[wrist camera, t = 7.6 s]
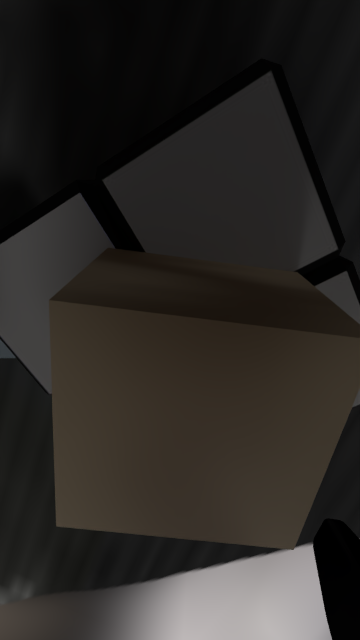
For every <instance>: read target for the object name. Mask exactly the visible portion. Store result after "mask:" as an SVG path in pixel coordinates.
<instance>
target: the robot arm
mask: <svg viewBox="0 0 360 640" xmlns="http://www.w3.org/2000/svg"><path fill="white" fill-rule="evenodd" d="M313 548H314V554H315V560H316V565H317V570H318V576H319V581H320V586H321V591H322V596H323V602H324V607H325V612H326V617H327V621H328V625H329V629H330V633H331V636H332V640H360V539H359V538H358V537H357V536H356V535H355V534H354V533H353V531H352V530H351V529H350V528H349V527H348V526H347V525H346V524H345V523H344V522H342V521H340V520H335V519H325V520H324V521H323V523H322V525H321V527H320V528H319V530H318V532H317V534H316V536H315V537H314V541H313Z"/></svg>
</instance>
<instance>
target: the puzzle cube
mask: <svg viewBox="0 0 360 640" xmlns="http://www.w3.org/2000/svg"><path fill="white" fill-rule="evenodd" d="M344 243H345V239H344V236H343V234H342V231H341V228H340V225H339V223H338V220H337V217H336V214H335V212H334V209H333V206H332V204H331V201H330V198H329V195H328V193H327V190H326V187H325V184H324V182H323V179H322V176H321V173H320V171H319V168H318V165H317V162H316V160H315V157H314V154H313V151H312V149H311V146H310V143H309V140H308V138H307V135H306V132H305V130H304V127H303V124H302V121H301V119H300V116H299V113H298V110H297V108H296V105H295V102H294V99H293V97H292V94H291V91H290V88H289V86H288V83H287V80H286V77H285V75H284V72H283V69H282V66H281V65H279V64H276V63H273V62H270V61H268V60H265V59H260V60H259V61H257V62H256V63H254V64H253V65H251V66H250V67H248V68H247V69H245V70H243V71H242V72H240V73H239V74H237V75H236V76H234V77H233V78H231V79H230V80H228V81H227V82H225V83H224V84H222V85H221V86H219V87H218V88H216V89H215V90H213V91H212V92H210V93H209V94H207V95H206V96H204V97H203V98H201V99H200V100H198V101H197V102H195V103H194V104H192V105H191V106H189V107H188V108H186V109H185V110H183V111H182V112H180V113H178V114H177V115H175V116H174V117H172V118H171V119H169V120H168V121H166V122H165V123H163V124H162V125H160V126H159V127H157V128H156V129H154V130H153V131H151V132H150V133H148V134H147V135H145V136H144V137H142V138H141V139H139V140H138V141H136V142H135V143H133V144H132V145H130V146H129V147H127V148H126V149H124V150H123V151H121V152H120V153H118V154H117V155H115V156H113V157H112V158H110V159H109V160H107V161H106V162H104V163H103V164H101V165H100V166H98V167H97V173H96V179H95V180H76V181H74V182H73V183H71V184H70V185H68V186H67V187H65V188H64V189H62V190H61V191H59V192H58V193H56V194H55V195H53V196H52V197H50V198H49V199H47V200H46V201H44V202H43V203H41V204H40V205H38V206H37V207H35V208H34V209H32V210H31V211H29V212H28V213H26V214H25V215H23V216H21V217H20V218H18V219H17V220H15V221H14V222H12V223H11V224H9V225H8V226H6V227H5V228H3V229H2V230H0V340H1V341H2V342H3V343H4V344H5V345H6V347H7V348H8V349H9V350H10V351H11V352H12V354H13V355H14V356H15V357H16V358H17V359H18V361H19V362H20V363H21V364H22V365H23V366H24V368H25V369H26V370H27V371H28V372H29V373H30V375H31V376H32V377H33V378H34V379H35V381H36V382H37V383H38V384H39V385H40V386H41V388H42V389H43V390H44V391H45V392H46V393H47V394H49V395H52V380H51V350H50V320H49V299H51V298H52V297H53V296H54V295H55V294H56V293H57V292H58V291H60V290H61V289H62V288H63V287H64V286H65V285H66V284H67V283H69V282H70V281H71V280H72V279H73V278H74V277H75V276H76V275H78V274H79V273H80V272H81V271H82V270H83V269H84V268H86V267H87V266H88V265H89V264H90V263H91V262H92V261H93V260H95V259H96V258H97V257H98V256H99V255H100V254H101V253H102V252H104V251H105V250H106V249H107V248H114V249H122V250H130V251H138V252H145V253H153V254H160V255H168V256H176V257H184V258H191V259H199V260H207V261H215V262H222V263H230V264H238V265H246V266H253V267H261V268H269V269H277V270H284V271H292V272H298V273H299V274H300V275H301V276H303V277H304V278H305V279H306V280H307V281H309V282H310V283H311V284H312V285H313V286H315V287H316V288H317V289H318V290H319V291H321V292H322V293H323V294H324V295H325V296H327V297H328V298H329V299H330V300H331V301H333V302H334V303H335V304H336V305H337V306H339V307H340V308H341V309H342V310H343V311H344V312H346V313H347V314H348V315H349V316H350V317H352V318H353V319H354V320H355V321H356V322H358V323H359V324H360V280H359V278H358V275H357V272H356V269H355V267H354V264H353V262H351V261H349V260H347V259H345V258H343V257H341V256H339V254H340V252H341V249H342V247H343V245H344ZM359 405H360V389H359V391H358V394H357V396H356V399H355V401H354V403H353V406H352V408H354V407H356V406H359Z"/></svg>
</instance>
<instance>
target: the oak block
mask: <svg viewBox="0 0 360 640" xmlns="http://www.w3.org/2000/svg"><path fill="white" fill-rule="evenodd" d="M49 320H50V350H51V380H52V410H53V439H54V469H55V499H56V526H59V527H69V528H79V529H89V530H99V531H109V532H119V533H130V534H140V535H150V536H160V537H170V538H180V539H190V540H200V541H210V542H221V543H231V544H241V545H251V546H261V547H271V548H281V549H291V550H294V548H295V545H296V543H297V540H298V538H299V535H300V533H301V530H302V528H303V526H304V523H305V521H306V518H307V516H308V513H309V511H310V508H311V506H312V504H313V501H314V499H315V496H316V494H317V491H318V489H319V486H320V484H321V482H322V479H323V477H324V474H325V472H326V469H327V467H328V464H329V462H330V460H331V457H332V455H333V452H334V450H335V447H336V445H337V442H338V440H339V438H340V435H341V433H342V430H343V428H344V425H345V423H346V421H347V418H348V416H349V413H350V411H351V408H352V406H353V403H354V401H355V399H356V396H357V394H358V391H359V389H360V324H359V323H358V322H356V321H355V320H354V319H353V318H352V317H350V316H349V315H348V314H347V313H346V312H344V311H343V310H342V309H341V308H340V307H339V306H337V305H336V304H335V303H334V302H333V301H331V300H330V299H329V298H328V297H327V296H325V295H324V294H323V293H322V292H321V291H319V290H318V289H317V288H316V287H315V286H313V285H312V284H311V283H310V282H309V281H307V280H306V279H305V278H304V277H303V276H301V275H300V274H299V273H298V272H292V271H284V270H277V269H269V268H261V267H253V266H246V265H238V264H230V263H222V262H215V261H207V260H199V259H191V258H184V257H176V256H168V255H160V254H153V253H145V252H138V251H130V250H122V249H114V248H107V249H106V250H105V251H104V252H102V253H101V254H100V255H99V256H98V257H97V258H96V259H95V260H93V261H92V262H91V263H90V264H89V265H88V266H87V267H86V268H84V269H83V270H82V271H81V272H80V273H79V274H78V275H76V276H75V277H74V278H73V279H72V280H71V281H70V282H69V283H67V284H66V285H65V286H64V287H63V288H62V289H61V290H60V291H58V292H57V293H56V294H55V295H54V296H53V297H52V298H51V299H49Z"/></svg>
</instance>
